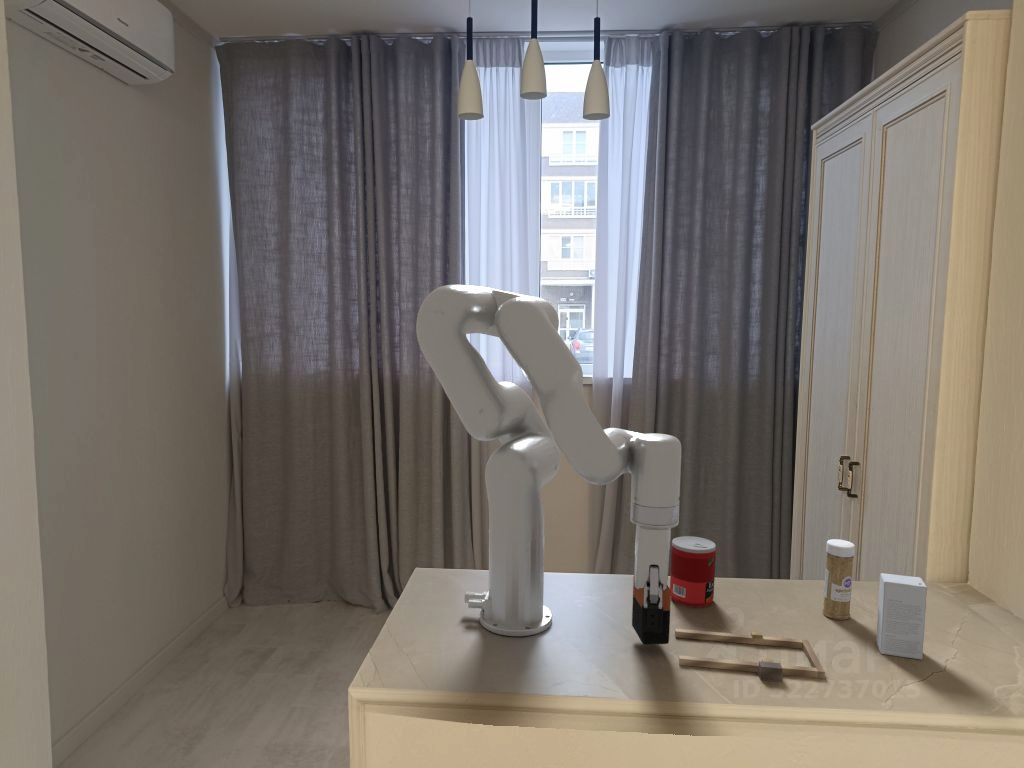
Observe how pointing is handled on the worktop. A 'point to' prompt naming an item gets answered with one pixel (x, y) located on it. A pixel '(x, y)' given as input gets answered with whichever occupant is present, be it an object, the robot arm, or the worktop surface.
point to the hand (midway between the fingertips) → (650, 618)
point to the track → (764, 667)
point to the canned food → (692, 571)
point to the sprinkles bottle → (838, 579)
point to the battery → (638, 601)
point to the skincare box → (901, 615)
